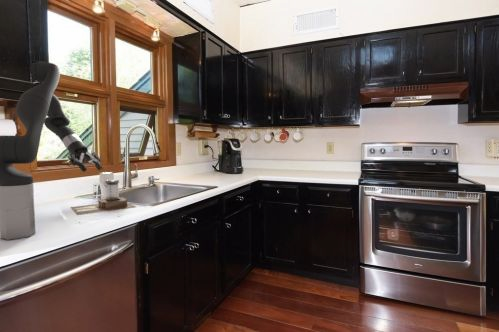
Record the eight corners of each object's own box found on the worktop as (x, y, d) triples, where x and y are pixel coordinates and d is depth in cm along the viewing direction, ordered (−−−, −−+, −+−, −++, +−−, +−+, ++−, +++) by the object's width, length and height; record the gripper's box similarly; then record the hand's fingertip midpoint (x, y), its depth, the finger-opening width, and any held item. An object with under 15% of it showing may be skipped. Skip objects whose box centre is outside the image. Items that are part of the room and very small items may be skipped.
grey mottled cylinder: (121, 206, 134) (120, 180, 133) (108, 207, 130) (107, 181, 129) (117, 204, 138) (117, 179, 137) (105, 205, 134) (104, 180, 133)
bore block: (136, 210, 132) (136, 200, 132) (77, 218, 117) (76, 207, 117) (124, 203, 146) (124, 195, 146) (70, 210, 131) (69, 200, 130)
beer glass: (100, 199, 156) (100, 172, 154) (114, 198, 158) (114, 172, 157) (99, 202, 149) (98, 173, 148) (113, 201, 152) (113, 173, 150)
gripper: (64, 139, 132) (84, 165, 129) (91, 140, 145) (109, 163, 142) (57, 151, 134) (75, 176, 131) (84, 150, 147) (101, 173, 144)
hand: (93, 169), depth 137 cm, fingers open, 8 cm apart
